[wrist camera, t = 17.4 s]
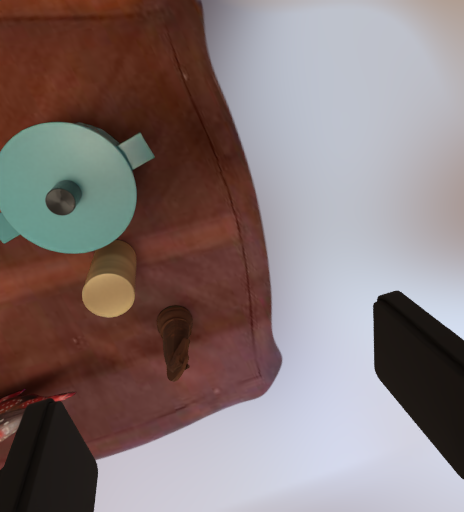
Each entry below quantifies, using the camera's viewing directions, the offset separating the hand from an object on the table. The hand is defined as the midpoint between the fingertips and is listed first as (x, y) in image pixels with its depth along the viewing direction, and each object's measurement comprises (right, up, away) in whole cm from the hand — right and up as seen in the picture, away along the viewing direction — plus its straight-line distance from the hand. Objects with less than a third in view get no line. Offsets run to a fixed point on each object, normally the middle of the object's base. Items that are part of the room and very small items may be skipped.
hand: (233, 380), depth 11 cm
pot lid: (-14, +9, +21) cm, 27 cm away
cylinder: (-14, +3, +32) cm, 35 cm away
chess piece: (-8, -5, +37) cm, 39 cm away
